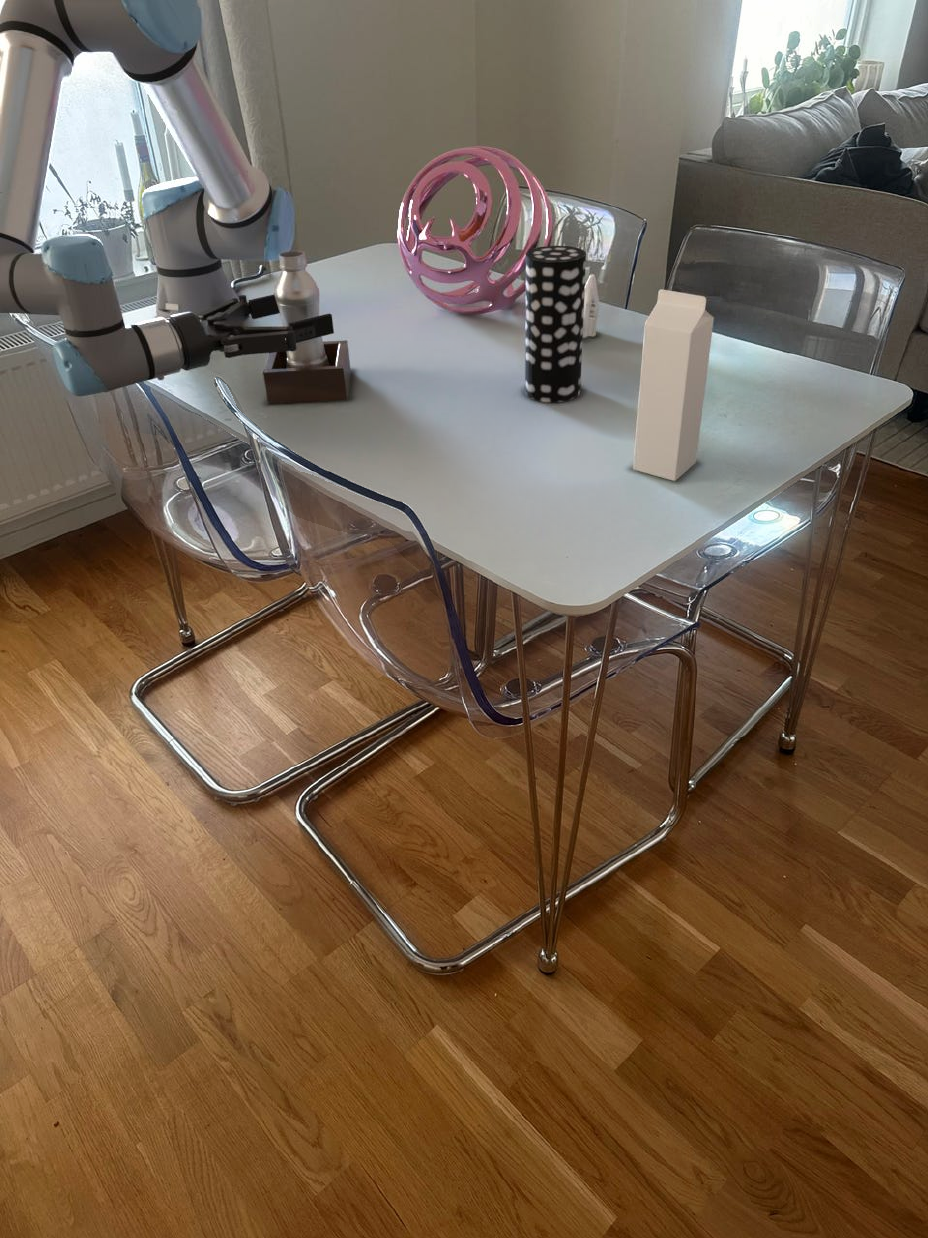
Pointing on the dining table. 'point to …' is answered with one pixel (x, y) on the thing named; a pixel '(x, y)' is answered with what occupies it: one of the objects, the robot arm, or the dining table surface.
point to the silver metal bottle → (299, 307)
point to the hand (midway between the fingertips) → (310, 311)
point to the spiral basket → (470, 230)
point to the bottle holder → (308, 377)
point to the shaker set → (590, 307)
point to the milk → (672, 384)
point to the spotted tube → (554, 322)
